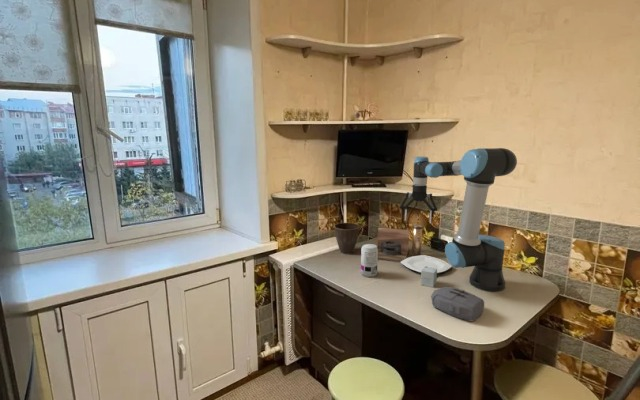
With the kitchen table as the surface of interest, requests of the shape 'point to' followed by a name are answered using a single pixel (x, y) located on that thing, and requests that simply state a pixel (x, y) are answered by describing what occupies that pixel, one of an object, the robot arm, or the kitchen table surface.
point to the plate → (425, 263)
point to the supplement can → (369, 260)
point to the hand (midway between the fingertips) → (417, 221)
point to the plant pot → (346, 236)
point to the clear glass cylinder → (416, 240)
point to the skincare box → (428, 276)
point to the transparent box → (392, 244)
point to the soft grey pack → (458, 303)
